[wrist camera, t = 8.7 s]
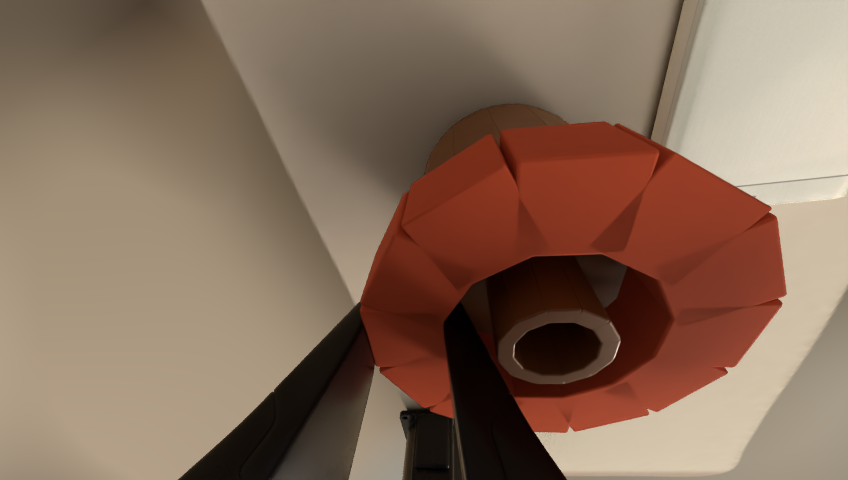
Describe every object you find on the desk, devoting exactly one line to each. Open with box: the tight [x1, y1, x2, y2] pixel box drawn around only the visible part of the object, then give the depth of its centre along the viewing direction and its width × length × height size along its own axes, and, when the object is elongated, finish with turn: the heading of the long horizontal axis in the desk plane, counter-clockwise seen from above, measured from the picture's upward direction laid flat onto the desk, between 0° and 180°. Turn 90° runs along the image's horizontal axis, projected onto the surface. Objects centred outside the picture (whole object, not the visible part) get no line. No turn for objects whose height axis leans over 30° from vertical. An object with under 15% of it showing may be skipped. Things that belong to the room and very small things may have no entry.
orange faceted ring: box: [360, 122, 787, 433], centre depth 9 cm, size 10×10×2 cm
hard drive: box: [651, 0, 848, 205], centre depth 11 cm, size 2×8×12 cm
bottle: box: [424, 104, 627, 384], centre depth 12 cm, size 8×8×10 cm
